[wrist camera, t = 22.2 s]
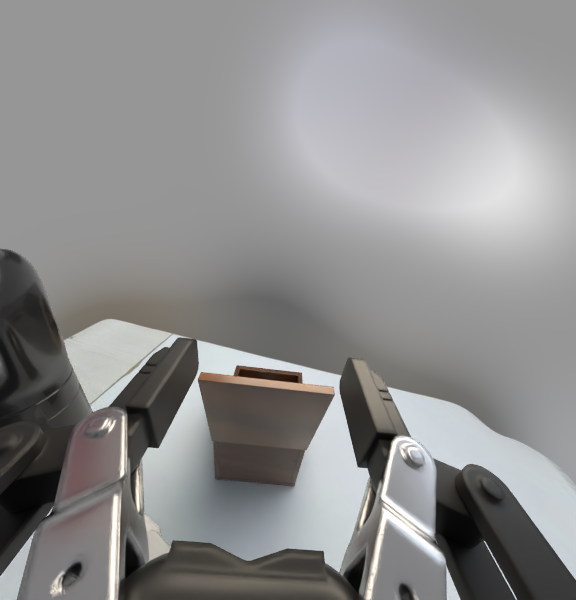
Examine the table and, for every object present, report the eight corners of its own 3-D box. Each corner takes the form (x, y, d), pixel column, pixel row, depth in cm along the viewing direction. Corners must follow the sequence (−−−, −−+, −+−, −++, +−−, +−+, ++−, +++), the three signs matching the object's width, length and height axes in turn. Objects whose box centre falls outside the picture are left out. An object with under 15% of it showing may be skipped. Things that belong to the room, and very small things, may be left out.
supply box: (235, 402, 45) (236, 365, 40) (293, 408, 46) (301, 372, 41) (215, 479, 33) (213, 439, 28) (294, 486, 34) (305, 448, 29)
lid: (200, 372, 20) (197, 379, 19) (333, 386, 20) (334, 394, 20) (213, 434, 28) (211, 441, 28) (306, 443, 29) (306, 450, 28)
